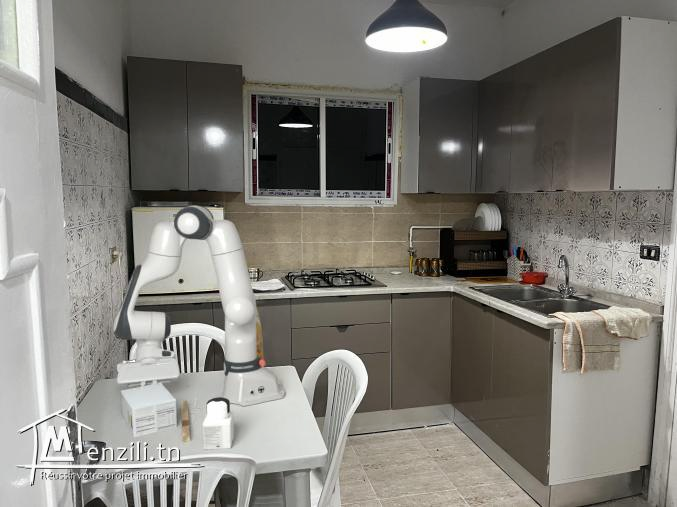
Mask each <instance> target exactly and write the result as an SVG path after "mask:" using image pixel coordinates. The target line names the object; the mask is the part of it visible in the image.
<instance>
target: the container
mask: <svg viewBox="0 0 677 507" xmlns="http://www.w3.org/2000/svg"><path fill="white" fill-rule="evenodd" d="M230 405H231V404H230V401H229V400H228V399H227V398H223V397H222V396H221V397H220V396H218V397H213V398H211V399H209V400H208V401H206V415H205V418H204V420H203V423H202V444H203V445H202V447H203V450H204V449H208V450H226V449H227V450H229V449H232V445H233V442H234V437H235V422H234V419H235V418H234V417H235V416H234V411H231V406H230Z"/></svg>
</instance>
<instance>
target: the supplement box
mask: <svg viewBox="0 0 677 507" xmlns="http://www.w3.org/2000/svg"><path fill="white" fill-rule="evenodd" d="M120 397H121V400H120V401H121V416H122V419H123V420H124V423H125V425H126V426H127V428H128V430H129V432H130V433H131V435H132V436H133V438H137V437H141V436H145V435H149V434H152V433H153V434H154V433H157V432H161V431H165V430H169V429H173V427H174V428H177V426H178V420H177V419H178V418H177V399H176V398H175V397H174V396H173V394H172V393H171V392H170V391H169V390H168V389H167V388H166V387H165V385H164V383H156V384H149V385H146V386H141V385H140V386H136V387H132V388H128V389H127V388H126V389H123V390H120ZM168 428H169V429H168Z"/></svg>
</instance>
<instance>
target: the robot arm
mask: <svg viewBox="0 0 677 507" xmlns="http://www.w3.org/2000/svg"><path fill="white" fill-rule="evenodd" d="M187 240H200V241H206V242H207V244H208V247H209V252H210V256H211V260H212V263H213V268H214V273H215V275H216V276H215V277H216V282H217V286H218V291H219V296H220V302H221V305H222V306H221V307H222V310H223V313H224V352H225V353H224V355H225V356H224V357H225V358H224V360H223V361H224V362H223V372H224V382H223V383H224V384H223V389H222V393H221V397H223V398H227V399H228V400H229V401H230V403H231V404H236V405H239V406H242V407H247V406H252V405H257V404H262V403H266V402H272V401H276V400H281V399H283V398H284V397H285V396H286V390H285V388H284V387H283V385H281V384H279V381H278V378H277V376H276V374H275V373H274V372H272V371H271V370H269V369H268V368H267V367H266V365H267V364H266V361H265V360H264V358H263V359H262V358H261V357H260V356H259V355H258V356H257V339H256V308H257V302H256V301H257V300H256V295H255V293H254V291H253V286H252V281H251V277H250V273H249V269H248V264H247V260H246V255H245V251H244V248H243V244H242V240H241V237H240V235H239V231H238V229H237V228H236V226H235V223H234V222H233V221H230V220H229V219H217V220H216V219H215V218H214V216H213V213H212V212H211V211H210V209H208V208H207V207H204V206H203V205H195V204H194V205H188V206H186V207H183V208H181V209H180V210H178V211H177V213H176V214H175V217H174V220H173V221H171V220H163V221H160V222H158V223H156V224H155V226H154V229H153V231H152V234H151V237H150V241H149V245H148V249H147V255H146V257H145V259H144V260H143V262H142V263H141V264H138V265H136V266H135V268H134V269H133V271H132V273H131V275H130V279H129V281H128V284H127V287H126V290H125V293H124V296H123V298H122V302H121V304H120V307H119V310H118V313H117V314H116V316H115V318H114V321H113V326H112V328H113V333H114V335H115V336H116V337H117V338H119V339H120V340H121V341H125V340H127V341H128V340H130V341H131V340H135V342H136V349H135V359H129V360H121V361H120V362H118V363H117V365H116V372H117V376H116V385H117V386H118V387H119V388H129V387H141V386H146V385H151V384H156V383H162V384H166V383H167V384H169V383H176V382H179V381H180V379H181V373H180V366H179V362H178V360H177V359H176V353H175V351H172V350H167V349H163V347H162V342H164V341H166V340H167V339H168V338H169V337H170V335H171V332H172V328H171V326H172V325H171V322H172V321H171V317H170V316H169V315H168V313H166V312H162V311H143V310H141V311H140V310H135V306H136V303H137V301H138V298H139V294H140V291H142V289H143V288H144V287H145V286H147V285H149V284H153V283H155V282H159V281H162V280H165V279H168V278H170V277H172V276H173V275H175V274H176V273H177V272H178V270H179V268H180V265H181V260H182V256H183V249H184V244H185V242H186V241H187Z"/></svg>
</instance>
